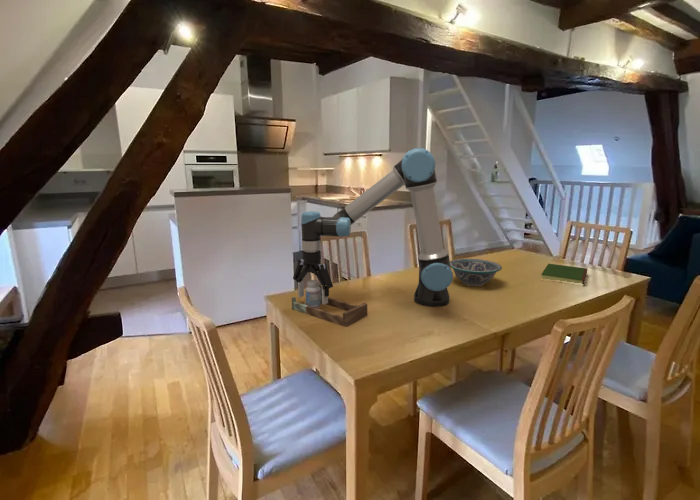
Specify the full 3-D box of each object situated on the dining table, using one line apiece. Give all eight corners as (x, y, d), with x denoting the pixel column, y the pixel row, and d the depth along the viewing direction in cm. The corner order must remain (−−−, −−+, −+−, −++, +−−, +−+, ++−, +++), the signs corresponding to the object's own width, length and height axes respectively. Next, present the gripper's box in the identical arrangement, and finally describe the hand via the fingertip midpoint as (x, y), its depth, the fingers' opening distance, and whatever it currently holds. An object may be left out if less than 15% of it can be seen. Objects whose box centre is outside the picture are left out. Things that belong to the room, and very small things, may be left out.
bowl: (443, 287, 189) (444, 268, 187) (451, 274, 212) (452, 256, 210) (499, 294, 180) (501, 274, 178) (501, 279, 203) (502, 261, 200)
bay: (374, 311, 160) (374, 294, 158) (346, 326, 146) (345, 307, 144) (319, 296, 178) (319, 280, 176) (289, 308, 164) (289, 291, 162)
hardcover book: (583, 287, 191) (584, 280, 190) (540, 281, 201) (541, 274, 200) (586, 274, 211) (587, 268, 210) (547, 269, 221) (548, 263, 220)
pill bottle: (306, 305, 168) (305, 279, 165) (320, 304, 168) (320, 279, 166) (305, 310, 162) (305, 284, 160) (320, 309, 163) (320, 283, 160)
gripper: (341, 252, 155) (341, 304, 160) (296, 244, 170) (298, 291, 175) (328, 256, 149) (329, 309, 154) (283, 247, 164) (285, 296, 169)
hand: (312, 300), depth 164 cm, fingers open, 13 cm apart
